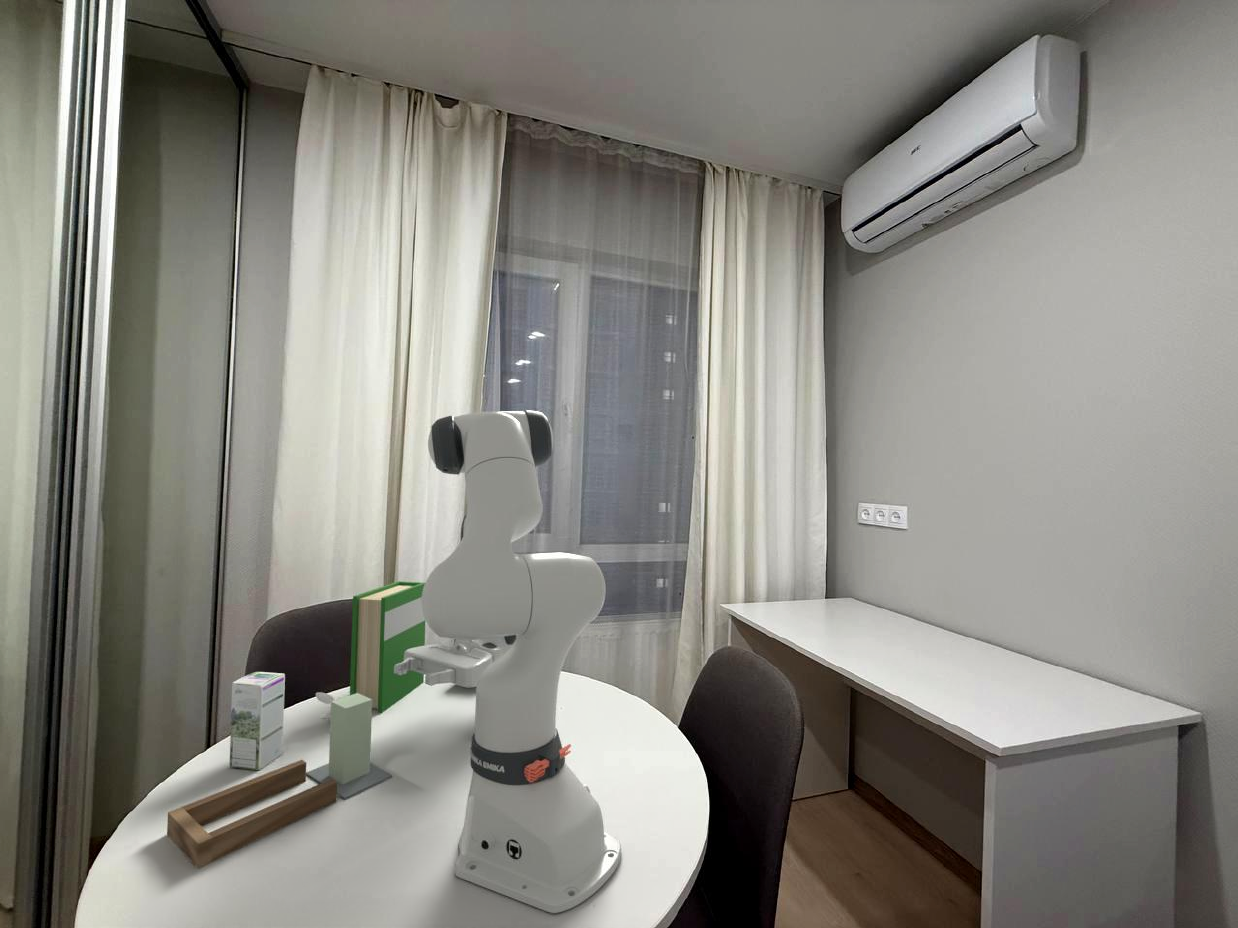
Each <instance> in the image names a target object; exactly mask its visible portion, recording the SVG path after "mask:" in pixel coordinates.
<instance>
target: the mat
mask: <svg viewBox="0 0 1238 928" xmlns="http://www.w3.org/2000/svg"><path fill="white" fill-rule="evenodd" d="M306 776H307V777H309V778H311V779H312V780H313V781H316V782H317V783H318V784H321V783H323V782H325V781H328V780H330V779H333V778H332V777H330V776H329V762H328V763H326V764H324V765H321V766H318V767H316V768H314V769H311V770H310V771H306ZM391 778H393V774H391V773H389V772H388V771H386V770H384V769H382V768H380V767H379V766H377V765H375V764H373V763H371V762H370V773H368V774H365V775H363V776H361V777H359V778H357V779H354V780H352V781H350V782H348V783H346V784H344V785H343V784H341V783H340V782H338V781H337V780H335V779H333V780H335V781H337V797H339V796H340V798H341V799H343V800H347V799H349V798H351V797H354V796H355V795H358V794H360V793H362V792H364V791H367V790H368V789H370V788H372V787H375V786H376V785H378V784H381V783H383V782H384V781H387V780H389V779H391Z"/></svg>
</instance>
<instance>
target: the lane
mask: <svg viewBox="0 0 1238 928" xmlns="http://www.w3.org/2000/svg"><path fill="white" fill-rule="evenodd" d="M306 772H307V762H306V761H305V760H303V759H299V760H298V761H295V762H294V761H293V762H292V763H290V764H287V765H284V766H282V767H279V768H276V769H274V770H272V771H269V772H266V773H264V774H261V775H259V776H256V777H254V778H251V779H248V780H247V781H244V782H240V783H239V784H236V785H233V786H231V787H229V788H226V789H224V790H221V791H218V792H215V793H213V794H211V795H208V796H205V797H203V798H201V799H198V800H195V801H192V802H190V803H188V804H185V805H182V806H180V807H178V808H175V809H172V810H169V811H168V812H167V826H166V834H167V836H168V837H169V839H170V840H171V841H172V842H173V843H174V844H175V845H176V847H178V849H180V851H181V852H182V853H183V854H184V855H185V856H186V857H187V859H188V860H189V861H190V862H191V863H192V864H193V865H194V866H195V868H196V869H199V868H201V867H203V866H205V865H207V864H210V863H212V862H214V861H217V860H218V859H220V858H222V857H225V856H226V855H228V854H230V853H233V852H235V851H238V850H239V849H241V848H243V847H246V846H247V845H249V844H251V843H253V842H255V841H257V840H260V839H262V838H264V837H266V836H268V835H270V834H272V833H274V832H277V831H279V830H281V829H283V828H285V827H288V826H289V825H291V824H293V823H295V822H297V821H300V820H301V819H304V818H305V817H308V816H310V815H312V814H314V813H317V812H318V811H320V810H323V809H324V808H326V807H329V806H331V805H334V804H335V803H337V801H338V800H337V798H338V795H337V781H335V780H333V779H330V780H328V781H325V782H323V783H321V784H320V783H318V784H317V785H314V786H312V787H309V788H307V789H305V790H303V791H301V792H298V793H297V794H294V795H292V796H289V797H287V798H284V799H282V800H280V801H278V802H276V803H274V804H271V805H269V806H266V807H265V808H262V809H260V810H257V811H254V812H253V813H251V814H249V815H246V816H244V817H241V818H239V819H236V820H235V821H232V822H230V823H228V824H225V825H224V826H223V825H222V826H221V827H219V828H217V829H214V830H212V831H210V832H208V831H207V830H205V828H204V827H203V826H204V825H206V824H209V823H211V822H214V821H215V820H218V819H220V818H223V817H226V816H228V815H229V814H232V813H235V812H237V811H239V810H241V808H242V809H244V808H246V807H249V806H251V805H253V804H255V803H258V802H260V801H263V800H265V799H268V798H269V796H270V797H272V796H274V795H277V794H279V793H282V792H283V791H286V790H289V789H291V788H293V787H295V786H298V785H300V784H302V783H305V782H306V781H307V780H306V779H307V778H306V776H307V775H306ZM262 799H263V800H262ZM250 804H251V805H250ZM248 805H249V806H248ZM245 806H246V807H245ZM243 807H244V808H243ZM238 809H239V810H238ZM236 810H237V811H236ZM227 814H228V815H227Z"/></svg>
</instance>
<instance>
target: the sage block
mask: <svg viewBox="0 0 1238 928" xmlns="http://www.w3.org/2000/svg"><path fill="white" fill-rule="evenodd" d="M337 699H338V700H336V699H334V700H335V701H331V703H330V707H331V716H330V719H331V721H330V720H329V721H330V725H329V752H328V753H329V755H328V756H329V758H328V759H329V760H328V763H329V776H330V777H332V778H333V779H335V780H337V781H338V782H340V783H341V784H343V785H344V784H346V783H348V782H350V781H352V780H354V779H357V778H359V777H361V776H363V775H365V774H368V773H370V763H371V749H372V747H371V746H372V721H373V720H372V717H373V715H372V713H373V708H372V699H370V698H368V697H365V696H363V695H361V694H358V693H356V694H353V695H350V694H349V695H348V696H344V697H341V699H340V698H337Z"/></svg>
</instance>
